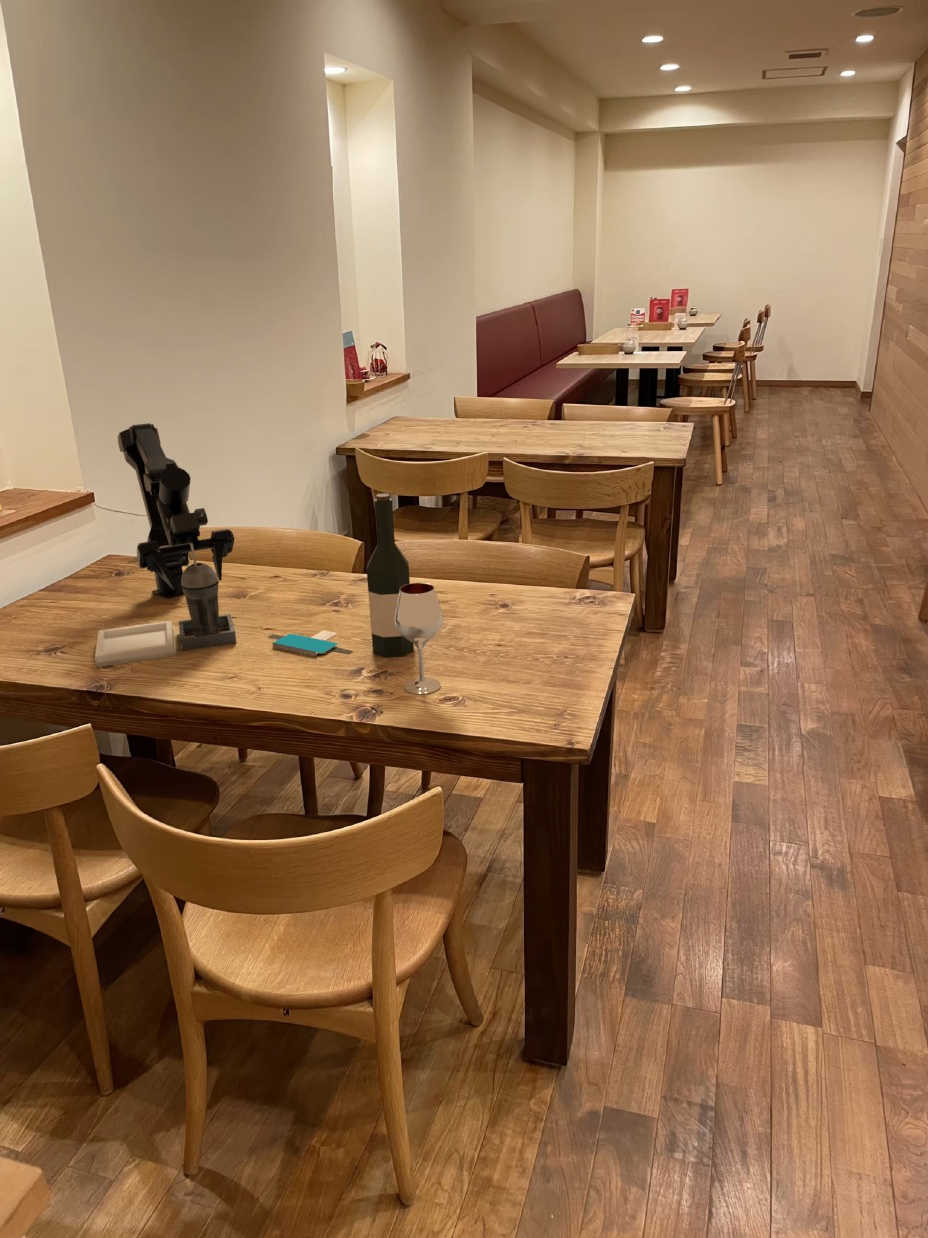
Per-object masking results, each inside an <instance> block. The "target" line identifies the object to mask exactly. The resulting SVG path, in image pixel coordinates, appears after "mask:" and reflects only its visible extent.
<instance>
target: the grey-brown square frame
mask: <svg viewBox="0 0 928 1238" xmlns="http://www.w3.org/2000/svg"><path fill="white" fill-rule="evenodd" d="M224 628H225V629H226V628H228V630H227V631H225V630H224V631H219V632H217V633H210V634H203V635H190V636H186V634H190V633H194V629H193V625H192V621H191V619H186V620H179V621H178V632H179V641H180V647H181V648H180V649H181V652H185V651H192V650H193V651H194V650H199V649H208V648H212V647H213V648H214V647H219V646H227V645H233V644H237V636H236V630H235V626H234V621H233V617H232V614H231V613H229V614H222V615H221V614H219V629H224Z"/></svg>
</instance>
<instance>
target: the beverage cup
mask: <svg viewBox="0 0 928 1238" xmlns="http://www.w3.org/2000/svg"><path fill="white" fill-rule="evenodd" d="M190 546H191V551H192V552H191V556H192V560H193V563H192V564H189V565H188V566H186V568H185V569H184V571H183V574H182V577H181V588H182V590H183V593H182V594H183V595H184V597H185V600H186V604H187V605H186V606H187V608H188V612H189V617H190V620H191V621H192V625H193V629H194V632H193V633H194V636H196V635H203V634H210V633H217V632H220V628H219V616H220V613H219V611H220V610H219V596H218V595H219V583H220V581H219V579H218V577H217V574H216V570H214V569H213V567H211V566H210V565H208V564H206V563H203V562H197V558H196V553H195V551H194V548H193V543H191V544H190Z"/></svg>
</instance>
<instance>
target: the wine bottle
mask: <svg viewBox="0 0 928 1238" xmlns="http://www.w3.org/2000/svg"><path fill="white" fill-rule="evenodd" d="M373 503H374V514H375V515H374V516H375V527H376V543H377V544H376V547H375V548H374V550H373V552H372V554H371V556H370V558H369V560H368V562H367V563H366V578H367V591H368V592H367V593H368V602H369V603H368V604H369V615H370V616H369V617H370V628H371V629H370V631H371V632H370V633H371V644H372V654H373V655H376V656H379V657H381V658H385V659H388V658H401V657H404V656H407V655H409V654H412V653H414V651H415V647H414V646H415V645H414V644H413V643H412V642H410V641H409V640H407V639H406V638H404V637H403V636H402V635H401V634H400V633H399V632H398V630H397V628H396V626H395V622H394V617H395V610H396V604H397V599H398V595H399V590H400V588H401V587H402V586H404V585H407V584H411V582H410V580H411V579H410V578H411V577H410V567H409V561H408V560H407V558H406V557H405V555H404V554H403V552H402V551H401V550H400V548H399V547H398V546H397V544H396V541H395V525H394V510H393V508H394V507H393V498H392V497H390V494H389V493H378V494H376V497H375V499H374V501H373Z"/></svg>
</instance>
